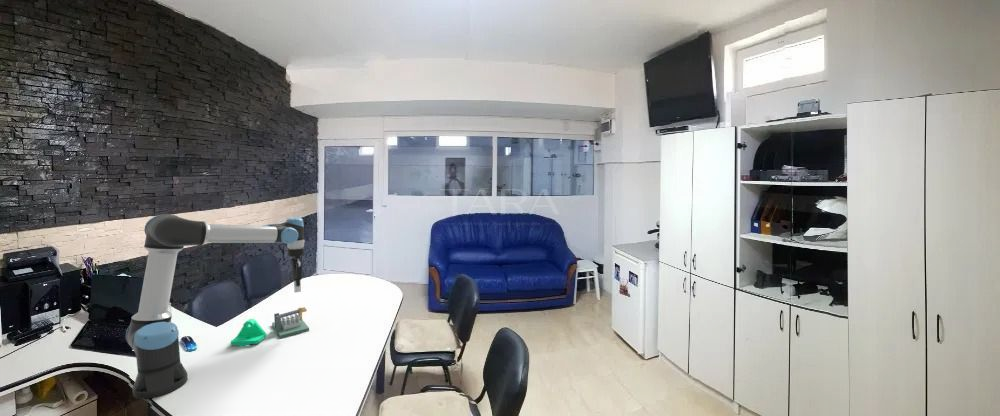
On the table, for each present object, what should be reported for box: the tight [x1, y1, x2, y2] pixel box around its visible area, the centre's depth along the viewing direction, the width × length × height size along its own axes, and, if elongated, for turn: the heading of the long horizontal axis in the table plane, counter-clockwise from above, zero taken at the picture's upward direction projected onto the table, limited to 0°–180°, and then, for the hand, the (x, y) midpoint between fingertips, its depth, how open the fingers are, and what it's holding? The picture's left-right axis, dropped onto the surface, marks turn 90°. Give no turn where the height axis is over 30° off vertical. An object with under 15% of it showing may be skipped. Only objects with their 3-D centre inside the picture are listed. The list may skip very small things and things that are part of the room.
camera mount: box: [230, 318, 267, 347], centre depth 169 cm, size 12×8×10 cm, turn 99°
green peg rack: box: [271, 306, 310, 339], centre depth 185 cm, size 19×13×9 cm
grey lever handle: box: [275, 307, 308, 319], centre depth 185 cm, size 4×14×2 cm, turn 133°
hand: (297, 291), depth 186 cm, fingers closed
